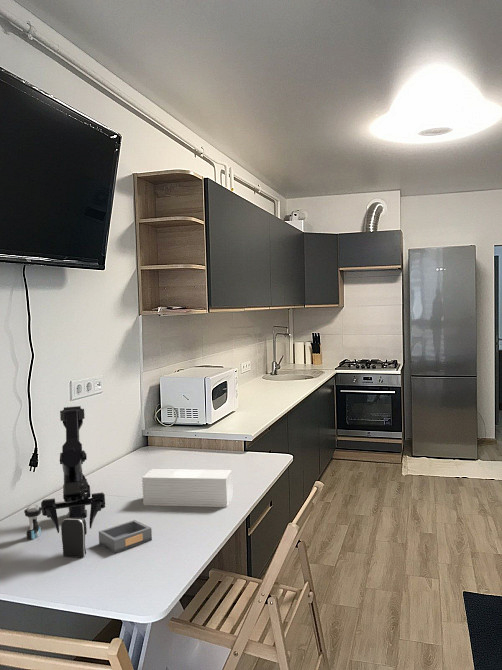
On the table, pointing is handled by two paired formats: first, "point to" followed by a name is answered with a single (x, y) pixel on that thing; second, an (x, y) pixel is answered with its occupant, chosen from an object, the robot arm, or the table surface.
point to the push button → (33, 521)
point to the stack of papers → (187, 487)
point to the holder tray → (125, 536)
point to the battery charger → (73, 536)
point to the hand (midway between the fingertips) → (74, 530)
